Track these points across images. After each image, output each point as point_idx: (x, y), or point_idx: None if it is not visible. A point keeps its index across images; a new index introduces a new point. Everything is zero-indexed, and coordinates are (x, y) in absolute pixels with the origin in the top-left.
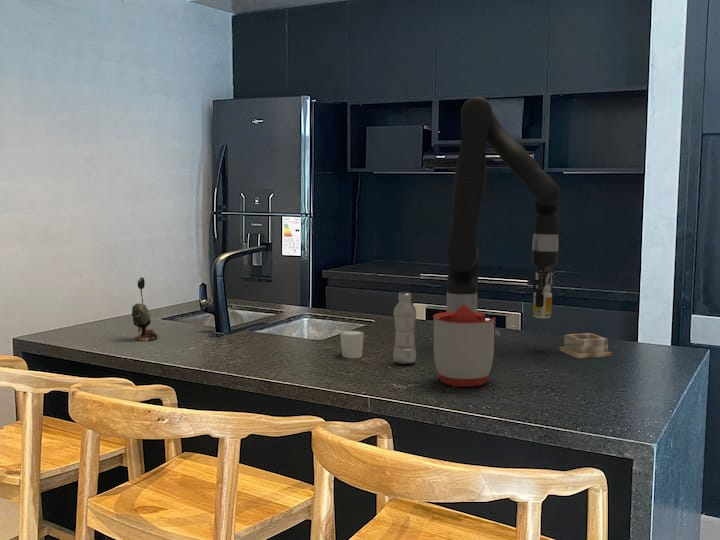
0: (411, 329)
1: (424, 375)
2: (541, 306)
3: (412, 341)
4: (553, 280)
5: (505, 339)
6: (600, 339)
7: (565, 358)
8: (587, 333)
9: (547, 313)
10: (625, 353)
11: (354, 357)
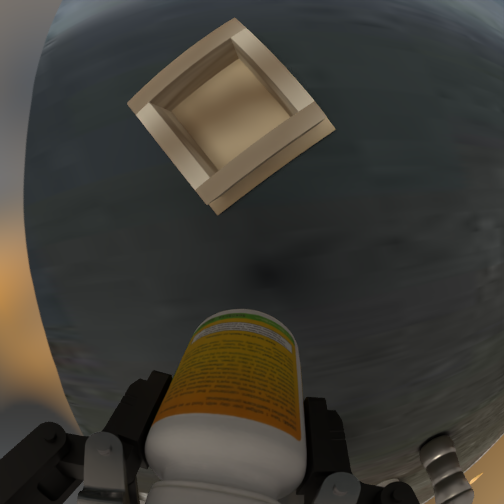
0: (462, 474)
1: (496, 394)
2: (323, 402)
3: (454, 459)
4: (2, 460)
5: (143, 374)
6: (257, 40)
7: (349, 176)
8: (139, 115)
9: (284, 339)
10: (182, 12)
11: (398, 479)
